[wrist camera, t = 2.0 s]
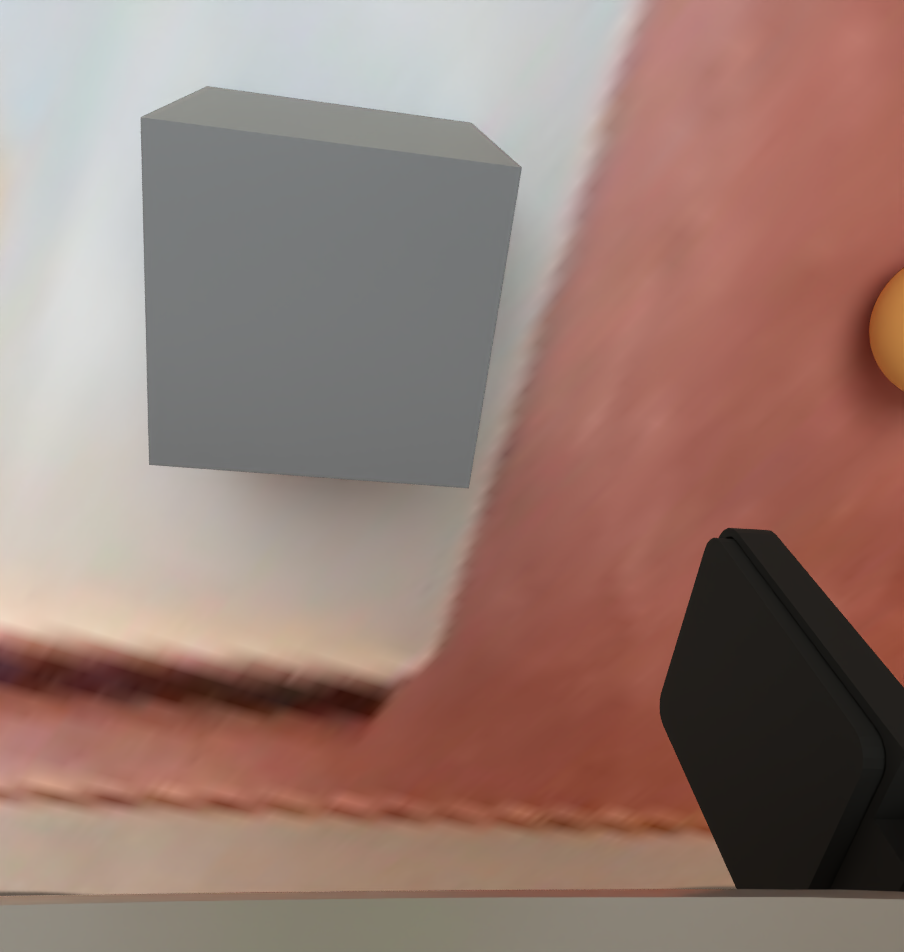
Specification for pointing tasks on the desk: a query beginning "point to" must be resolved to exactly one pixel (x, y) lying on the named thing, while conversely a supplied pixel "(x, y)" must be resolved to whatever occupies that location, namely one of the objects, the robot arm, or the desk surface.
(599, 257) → the desk surface
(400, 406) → the matte gray cube
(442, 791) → the desk surface
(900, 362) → the ball
